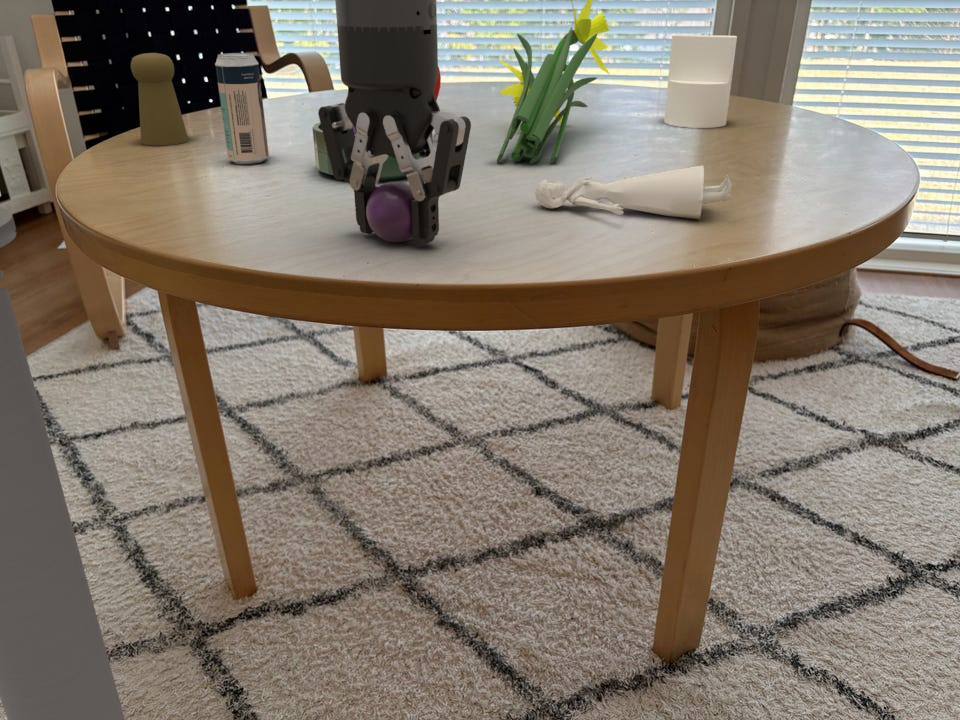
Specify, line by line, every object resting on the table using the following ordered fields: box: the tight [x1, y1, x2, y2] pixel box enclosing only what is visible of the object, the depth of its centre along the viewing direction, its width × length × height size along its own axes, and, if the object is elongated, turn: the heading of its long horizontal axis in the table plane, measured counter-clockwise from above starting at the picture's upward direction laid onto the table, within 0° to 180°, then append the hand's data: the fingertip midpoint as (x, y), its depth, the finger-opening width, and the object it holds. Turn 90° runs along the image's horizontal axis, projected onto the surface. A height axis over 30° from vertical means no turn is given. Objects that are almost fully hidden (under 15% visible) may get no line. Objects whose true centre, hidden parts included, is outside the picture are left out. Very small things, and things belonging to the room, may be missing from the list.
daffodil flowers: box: [496, 0, 611, 165], centre depth 107 cm, size 17×15×35 cm
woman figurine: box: [534, 165, 732, 220], centre depth 76 cm, size 12×4×18 cm
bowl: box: [312, 121, 434, 181], centre depth 92 cm, size 13×13×5 cm
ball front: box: [366, 181, 415, 243], centre depth 68 cm, size 5×5×5 cm
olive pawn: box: [130, 52, 190, 147], centre depth 106 cm, size 6×6×11 cm
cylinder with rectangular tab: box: [663, 33, 738, 129], centre depth 118 cm, size 9×9×12 cm
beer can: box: [214, 52, 270, 165], centre depth 95 cm, size 5×5×12 cm
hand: (397, 236), depth 69 cm, fingers closed on ball front, 5 cm apart
